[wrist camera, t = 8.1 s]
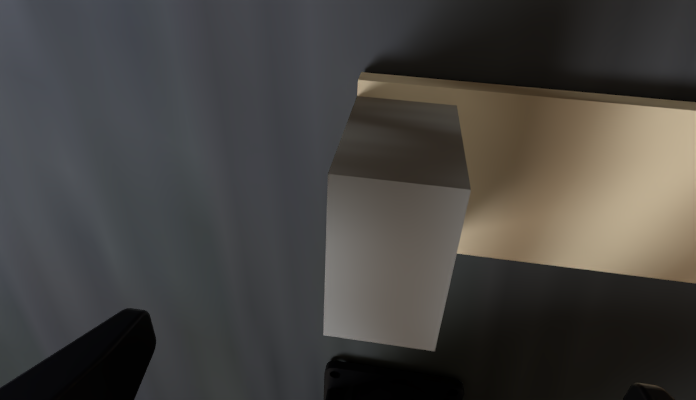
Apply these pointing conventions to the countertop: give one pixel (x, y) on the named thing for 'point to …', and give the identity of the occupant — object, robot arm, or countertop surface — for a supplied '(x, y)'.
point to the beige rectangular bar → (497, 194)
